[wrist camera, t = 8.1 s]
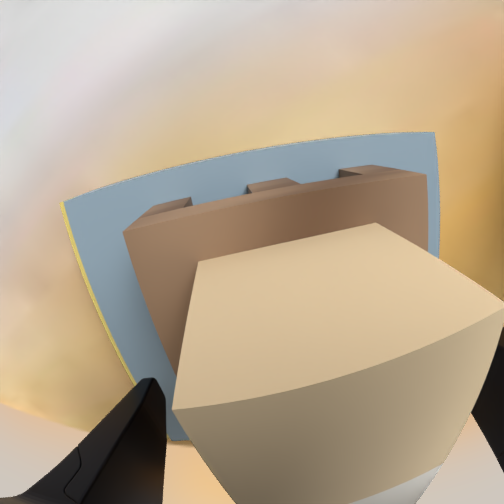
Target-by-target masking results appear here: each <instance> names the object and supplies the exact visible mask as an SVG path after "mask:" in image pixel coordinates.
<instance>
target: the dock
mask: <svg viewBox="0 0 504 504" xmlns="http://www.w3.org/2000/svg"><path fill="white" fill-rule="evenodd" d="M365 165H377V166H383V167H389V168H395V169H401V170H406V171H412V172H417V173H422V174H427V190H428V253H430V254H432V255H433V256H435V257H437V258H438V259H439V242H440V194H439V174H438V160H437V150H436V140H435V132H401V133H382V134H369V135H357V136H347V137H338V138H329V139H321V140H313V141H305V142H298V143H291V144H285V145H278V146H272V147H266V148H261V149H255V150H250V151H244V152H239V153H234V154H229V155H224V156H219V157H214V158H210V159H205V160H201V161H196V162H192V163H188V164H184V165H180V166H176V167H172V168H168V169H164V170H160V171H156V172H152V173H149V174H145V175H142V176H138V177H134V178H131V179H128V180H124V181H121V182H117V183H114V184H111V185H108V186H105V187H101V188H98V189H95V190H93V191H90V192H87V193H85V194H82V195H79V196H76V197H73V198H71V199H68V200H66V201H63V202H61V203H60V207H61V211H62V214H63V218H64V221H65V225H66V228H67V231H68V234H69V238H70V241H71V244H72V247H73V250H74V253H75V256H76V259H77V262H78V264H79V267H80V270H81V273H82V275H83V278H84V281H85V283H86V286H87V288H88V291H89V293H90V296H91V298H92V301H93V303H94V305H95V308H96V310H97V312H98V315H99V317H100V319H101V321H102V324H103V326H104V328H105V330H106V332H107V334H108V337H109V339H110V341H111V343H112V345H113V347H114V349H115V351H116V353H117V355H118V357H119V359H120V361H121V363H122V365H123V366H124V368H125V370H126V372H127V374H128V376H129V378H130V379H131V381H132V383H133V385H134V386H135V385H136V384H137V383H138V382H139V381H140V380H141V379H143V378H149V377H154V378H155V379H156V380H157V381H158V383H159V385H160V387H161V389H162V391H163V393H164V395H165V398H166V428H167V438H170V439H171V440H172V441H181V440H190V439H189V437H188V436H187V434H186V433H185V431H184V429H183V428H182V426H181V425H180V423H179V421H178V420H177V418H176V416H175V415H174V413H173V411H172V405H173V398H174V391H175V385H176V379H177V377H176V375H175V373H174V371H173V368H172V366H171V364H170V362H169V359H168V357H167V355H166V352H165V350H164V348H163V345H162V343H161V340H160V338H159V336H158V333H157V331H156V328H155V326H154V323H153V321H152V318H151V315H150V313H149V310H148V307H147V305H146V302H145V299H144V297H143V294H142V291H141V288H140V285H139V283H138V280H137V277H136V274H135V271H134V268H133V265H132V262H131V259H130V256H129V252H128V249H127V246H126V243H125V239H124V236H123V233H122V232H123V231H124V230H125V229H126V228H127V227H128V226H130V225H131V224H132V223H133V222H134V221H135V220H137V219H138V218H139V217H140V216H141V215H143V214H144V213H145V212H146V211H147V210H149V209H150V208H151V207H152V206H154V205H158V204H162V203H166V202H170V201H174V200H178V199H183V198H187V197H191V199H192V203H193V205H198V204H202V203H207V202H211V201H216V200H221V199H226V198H230V197H235V196H240V195H245V194H249V193H248V188H247V185H248V184H253V183H258V182H264V181H269V180H274V179H280V178H286V177H287V178H289V179H291V180H293V181H295V182H298V183H300V184H305V183H311V182H317V181H323V180H329V179H335V178H340V176H339V169H343V168H350V167H357V166H365Z"/></svg>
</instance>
